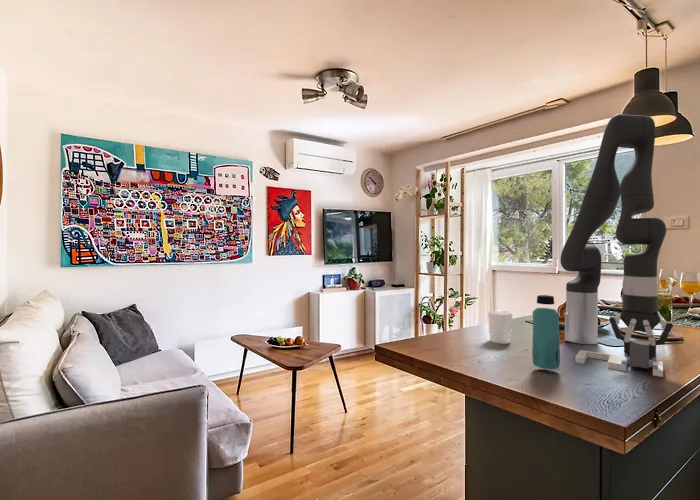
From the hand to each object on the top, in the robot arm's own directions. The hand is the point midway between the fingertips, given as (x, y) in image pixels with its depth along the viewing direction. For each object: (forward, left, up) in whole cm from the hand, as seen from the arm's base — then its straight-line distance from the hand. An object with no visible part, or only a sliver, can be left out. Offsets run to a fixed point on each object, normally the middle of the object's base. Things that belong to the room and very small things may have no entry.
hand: (639, 357), depth 100 cm
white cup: (-38, +7, -3) cm, 39 cm away
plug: (0, 0, -2) cm, 2 cm away
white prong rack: (-5, +1, -3) cm, 6 cm away
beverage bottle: (-19, -17, -3) cm, 26 cm away
